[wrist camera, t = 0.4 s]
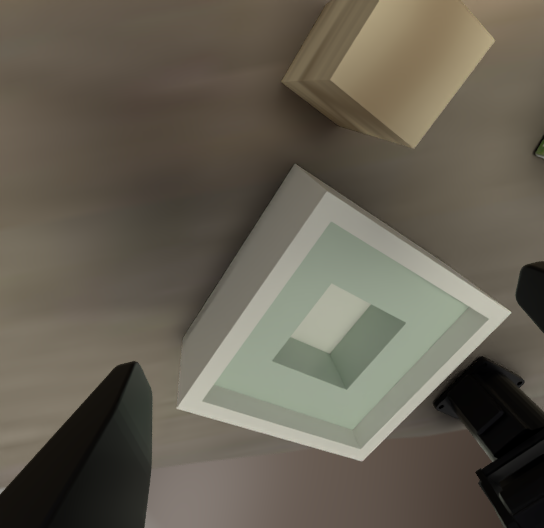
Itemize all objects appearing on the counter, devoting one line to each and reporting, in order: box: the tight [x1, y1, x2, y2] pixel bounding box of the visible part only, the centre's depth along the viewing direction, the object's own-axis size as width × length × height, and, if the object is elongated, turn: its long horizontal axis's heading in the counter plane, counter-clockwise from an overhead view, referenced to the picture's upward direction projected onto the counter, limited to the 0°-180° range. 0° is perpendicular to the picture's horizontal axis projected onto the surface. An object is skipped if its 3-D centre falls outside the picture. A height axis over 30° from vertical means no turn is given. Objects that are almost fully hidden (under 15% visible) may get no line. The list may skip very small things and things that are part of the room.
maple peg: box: [281, 0, 495, 149], centre depth 15 cm, size 4×4×8 cm
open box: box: [176, 164, 512, 461], centre depth 22 cm, size 14×14×6 cm
